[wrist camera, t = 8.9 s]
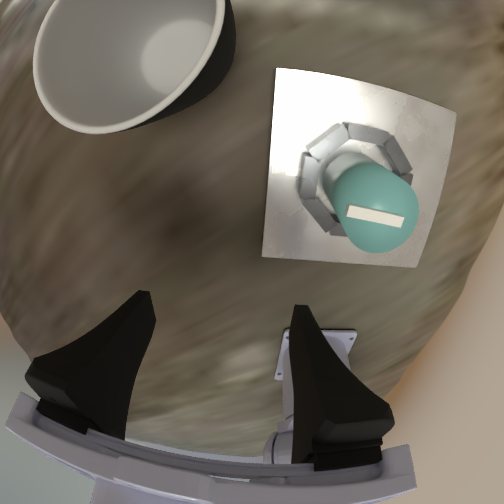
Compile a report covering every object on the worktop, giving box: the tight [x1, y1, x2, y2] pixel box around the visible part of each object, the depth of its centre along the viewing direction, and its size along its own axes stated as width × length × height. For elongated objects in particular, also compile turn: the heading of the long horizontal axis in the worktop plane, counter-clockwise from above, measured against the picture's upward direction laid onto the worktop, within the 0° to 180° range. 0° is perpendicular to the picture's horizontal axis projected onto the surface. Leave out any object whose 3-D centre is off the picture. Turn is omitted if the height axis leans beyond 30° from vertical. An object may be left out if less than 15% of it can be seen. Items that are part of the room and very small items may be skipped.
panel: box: [262, 68, 457, 268], centre depth 18 cm, size 14×14×3 cm
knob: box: [323, 152, 419, 253], centre depth 15 cm, size 4×4×6 cm
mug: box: [33, 0, 236, 134], centre depth 11 cm, size 12×9×10 cm
